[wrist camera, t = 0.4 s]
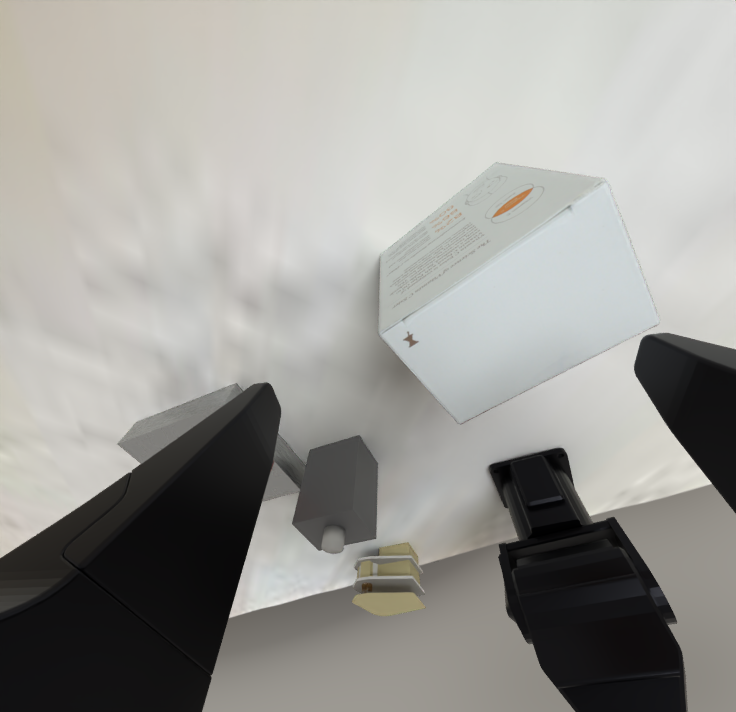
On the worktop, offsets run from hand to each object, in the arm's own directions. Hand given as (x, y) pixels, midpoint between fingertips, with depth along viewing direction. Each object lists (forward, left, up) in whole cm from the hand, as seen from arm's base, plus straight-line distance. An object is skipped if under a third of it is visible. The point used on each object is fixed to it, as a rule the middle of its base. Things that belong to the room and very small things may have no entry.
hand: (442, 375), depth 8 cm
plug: (-16, +13, -14) cm, 24 cm away
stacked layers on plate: (-33, +16, -14) cm, 39 cm away
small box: (-2, -2, -14) cm, 14 cm away
